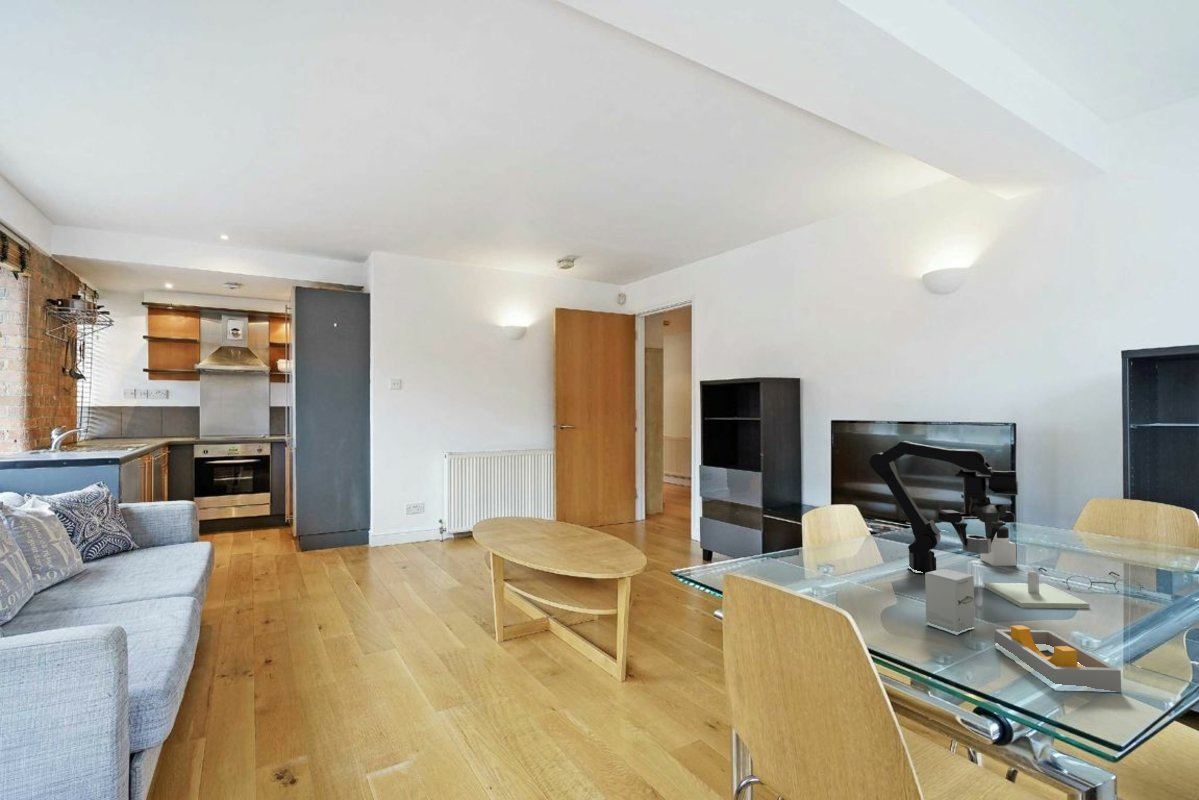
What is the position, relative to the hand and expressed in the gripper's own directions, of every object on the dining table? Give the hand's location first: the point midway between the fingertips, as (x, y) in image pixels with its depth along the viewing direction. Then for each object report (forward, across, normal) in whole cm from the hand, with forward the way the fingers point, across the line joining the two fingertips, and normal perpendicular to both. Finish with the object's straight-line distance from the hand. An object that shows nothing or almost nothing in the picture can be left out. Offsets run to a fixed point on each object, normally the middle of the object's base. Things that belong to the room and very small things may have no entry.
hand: (976, 545), depth 164 cm
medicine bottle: (+10, +16, +18) cm, 26 cm away
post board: (+10, +6, -15) cm, 19 cm away
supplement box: (+10, -26, -37) cm, 46 cm away
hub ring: (+2, 0, 0) cm, 2 cm away
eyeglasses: (+11, +30, 0) cm, 32 cm away
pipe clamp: (+10, -18, -57) cm, 61 cm away
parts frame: (+10, -17, -57) cm, 60 cm away
